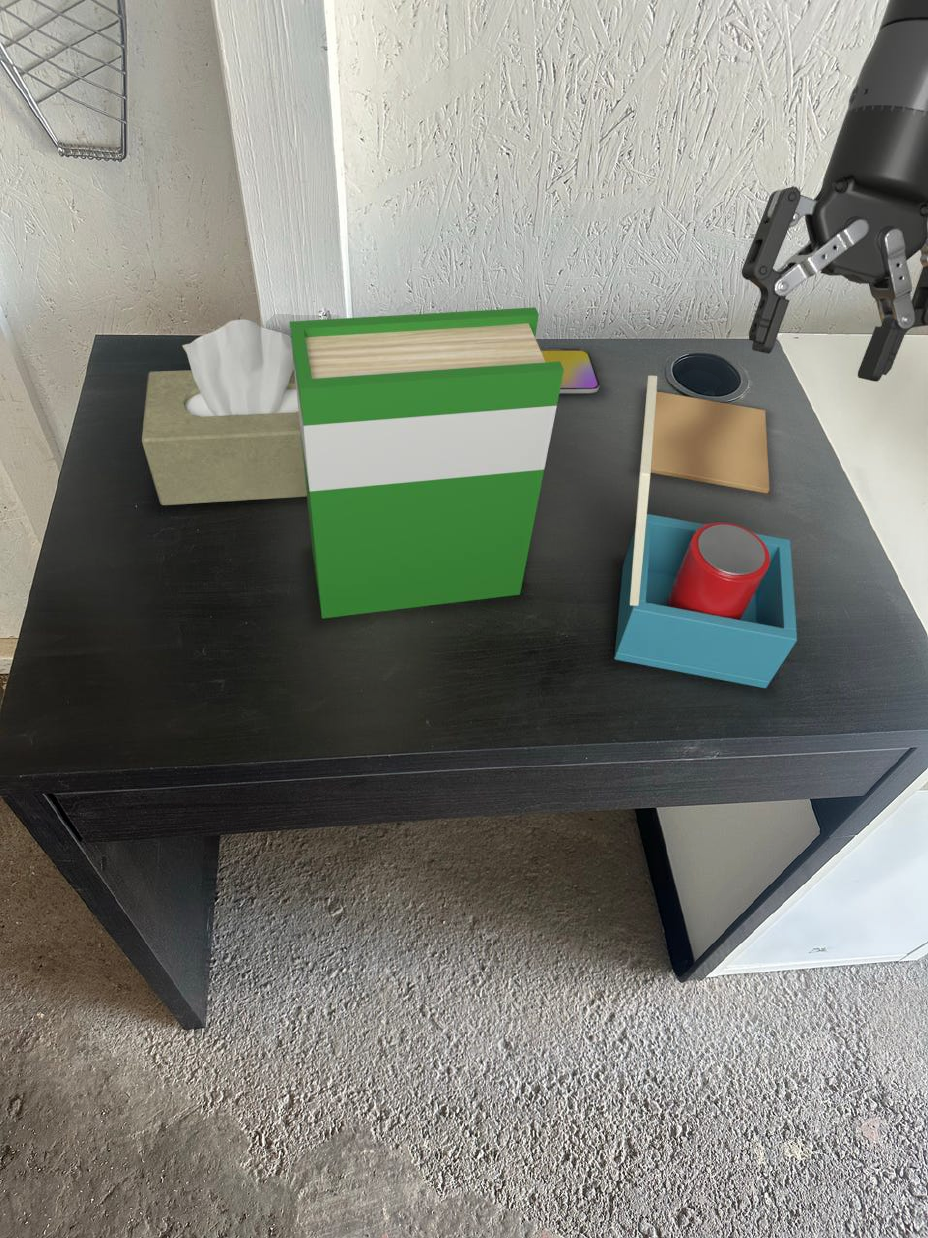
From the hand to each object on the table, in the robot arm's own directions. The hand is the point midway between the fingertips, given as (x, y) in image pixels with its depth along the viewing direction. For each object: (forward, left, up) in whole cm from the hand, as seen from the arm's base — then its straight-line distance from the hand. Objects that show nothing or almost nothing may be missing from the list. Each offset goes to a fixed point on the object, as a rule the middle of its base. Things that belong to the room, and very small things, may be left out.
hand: (814, 365), depth 62 cm
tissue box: (+45, -3, -23) cm, 51 cm away
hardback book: (+27, +7, -23) cm, 37 cm away
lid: (+10, +7, -9) cm, 15 cm away
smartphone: (+21, -25, -23) cm, 40 cm away
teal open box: (+2, +7, -23) cm, 24 cm away
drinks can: (+2, +8, -22) cm, 23 cm away
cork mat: (+1, -18, -23) cm, 29 cm away
